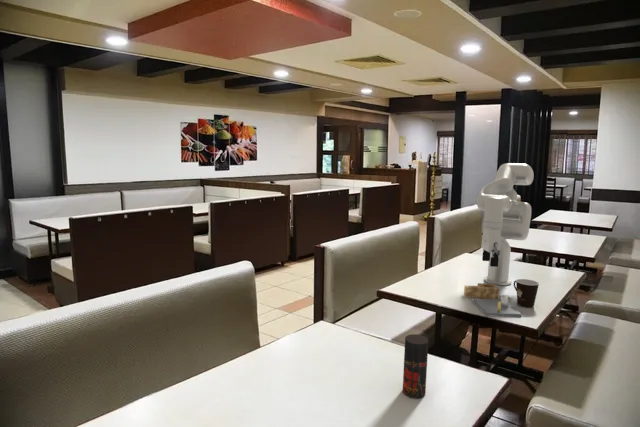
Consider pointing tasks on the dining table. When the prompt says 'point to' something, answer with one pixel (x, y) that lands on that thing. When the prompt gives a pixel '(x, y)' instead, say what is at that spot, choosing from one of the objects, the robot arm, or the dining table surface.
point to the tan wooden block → (482, 291)
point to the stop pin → (499, 307)
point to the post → (504, 301)
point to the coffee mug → (526, 292)
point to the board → (495, 308)
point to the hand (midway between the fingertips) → (489, 263)
